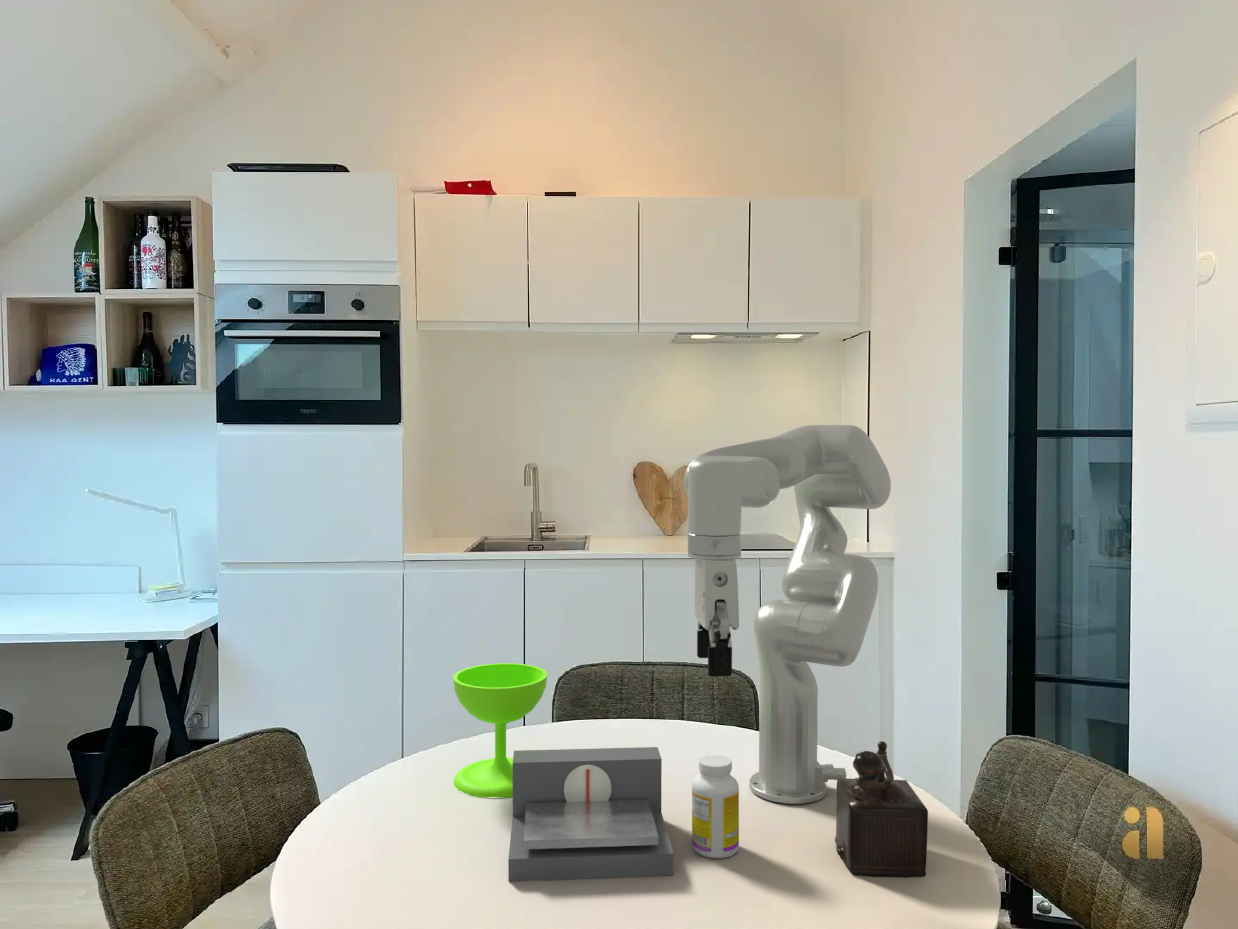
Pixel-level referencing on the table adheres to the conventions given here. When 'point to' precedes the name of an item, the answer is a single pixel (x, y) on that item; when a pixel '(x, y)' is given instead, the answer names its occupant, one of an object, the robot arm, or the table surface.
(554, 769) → the scale
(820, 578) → the robot arm
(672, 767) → the table surface
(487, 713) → the wineglass
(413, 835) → the table surface
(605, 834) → the pan
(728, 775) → the supplement bottle
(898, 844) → the manual coffee grinder
